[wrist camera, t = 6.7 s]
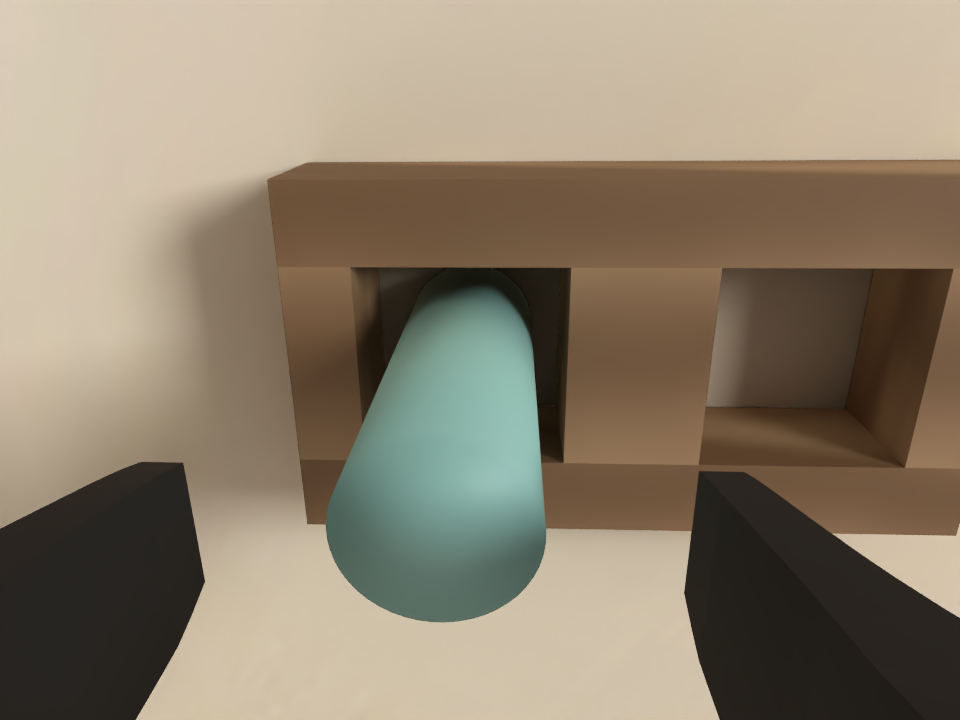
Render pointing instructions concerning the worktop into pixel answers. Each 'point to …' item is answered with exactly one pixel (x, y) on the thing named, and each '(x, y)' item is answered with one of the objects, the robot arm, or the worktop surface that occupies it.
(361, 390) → the hole block
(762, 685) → the robot arm
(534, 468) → the peg
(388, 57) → the worktop surface
